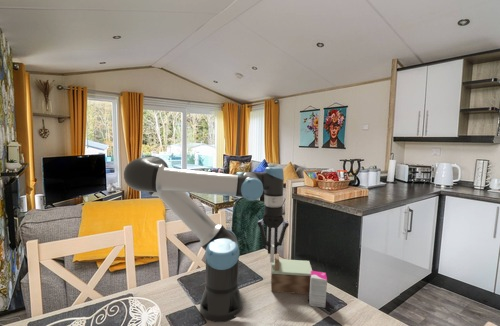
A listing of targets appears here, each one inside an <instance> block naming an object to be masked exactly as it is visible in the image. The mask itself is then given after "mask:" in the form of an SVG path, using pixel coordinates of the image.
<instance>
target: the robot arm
mask: <svg viewBox="0 0 500 326" xmlns="http://www.w3.org/2000/svg"><path fill="white" fill-rule="evenodd" d="M284 178H285V177H284V169H283V168H282V167H280V166H266V167H265V169H264V171H262V172H261V171H258V172H257V171H237V172H236V173H235V174H230V173H223V172H222V173H220V172H210V171H200V170H189V169H180V168H172V167H171V168H169V165H168V164H167V162H166V161H165V160H164V159H163V158H161V157H159V156H156V155H148V156H146V155H145V156H143V157H139V158H136V159H132V160H131V161H129V162H128V164H127V165H126V166H125V168H124V171H123V179H124V182H125V184H126V185H127V186H128V187H129V188H131V189H132V190H134V191H138V192H147V193H148V194H149V195H150V196H151V197H158V199H160V200H161V201H162V203H164V204H165V205H166V206H167V208H169V210H170V211H171V212H172V213H173V214H174V215H176V216H177V218H178V219H180V221H182V223H183V224H184V225H185V226H186V227H187V228H188V229H189V230H190V231H191V232H192V233H193V234H194V235H195V236H196V237H197V238H198V239H199V243H200V244H199V246H200V247H202V249H203V250H204V251H205V254H204V258H205V287H204V290H203V293H202V296H201V299H200V304H199V305H200V308H199V311H200V314H201V315H202V317H204V318H205V319H206V320H209V321H211V322H212V321H213V322H217V323H218V322H228V321H230V320H234V319H235V318H236V315H238V314H239V313H240V312H241V311H242V309H243V302H244V301H243V298H242V295H241V291H240V289H239V265H240V264H239V263H240V262H239V260H240V259H239V258H240V250H239V242H238V241H239V240H238V238H237V236H236V234H235V233H234V232H233V231H232V230H230V229H228V228H226V227H225V226H224V225H223V224H221V223H216V222H215V221H214V220H213V219H212V218H211V217H210V216H209V215H208V214H207V213H206V212H205V211H204V210H203V209H202V208H201V207H200V206H199V205H198V204H197V203H196V202H195V201H194V200H193V199H192V197H190V195H189V194H187V193H194V194H195V193H196V194H207V195H214V196H228V197H237V198H238V197H239V198H244V199H246V200H247V201H256V200H258V199H260V198H261V197H262V195H263V193H264V195H263V196H264V197H263V198H264V200H263V201H264V202H263V203H264V206H263V208H264V209H263V216H262V218H261V219H259V220H257V225H258V227H259V230H260V235H261V239H262V243H263V245H264V246H267V254H268V255H269V256H270V257H269V262H270V263H271V264H272V263H274V259H275V254H277V253H278V247H279V246H280V247H281V246H282V245H283V241H284V238H285V235H286V232H287V228H289V225H290V224H289V221H286V220H284V217H283V211H284V210H283V208H284V206H283V204H284V180H285V179H284ZM264 224H265V225H266V227H267V229H268V230H267V232H268V233H267V238H266V232H265V228H264ZM281 225H282V227H281V232H280V236H279V238H278V231H279V230H278V229H279V227H280V226H281ZM272 228H273V229H274V232H273V233H274V235H273V237H274V238H273V240H274V241H273V244H272Z"/></svg>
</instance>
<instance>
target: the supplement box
mask: <svg viewBox="0 0 500 326" xmlns="http://www.w3.org/2000/svg"><path fill="white" fill-rule="evenodd" d="M327 285H328V277H327V273H326V272H323V271H316V270H312V271H311V277H310V290H309V294H308V304H309V306H312V307H318V308H319V307H320V308H326V303H327V289H328V286H327Z"/></svg>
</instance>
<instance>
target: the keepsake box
mask: <svg viewBox="0 0 500 326" xmlns="http://www.w3.org/2000/svg"><path fill="white" fill-rule="evenodd" d="M270 276H271V279H270V283H271V285H270V287H271V288H270V289H271V290H270V291H271V292H272V293H286V294H287V293H288V294H303V295H305V294H306V295H309V290H310V277H311V276H299V275H283V274H272V268H271V273H270Z"/></svg>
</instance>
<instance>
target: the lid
mask: <svg viewBox="0 0 500 326" xmlns="http://www.w3.org/2000/svg"><path fill="white" fill-rule="evenodd" d="M271 269H272V274H283V275H299V276H311V271H313V269H312V265H311V263H310V260H297V259H286V258H285V259H284V258H280V254H279V253H278V252H277V254H274V263H271Z"/></svg>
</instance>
